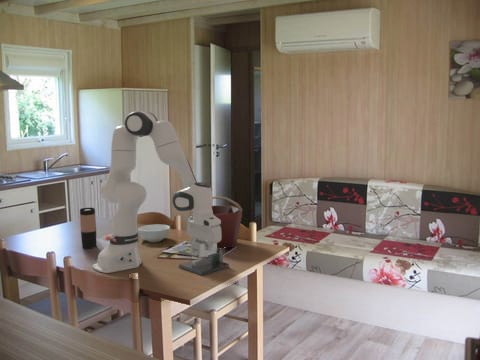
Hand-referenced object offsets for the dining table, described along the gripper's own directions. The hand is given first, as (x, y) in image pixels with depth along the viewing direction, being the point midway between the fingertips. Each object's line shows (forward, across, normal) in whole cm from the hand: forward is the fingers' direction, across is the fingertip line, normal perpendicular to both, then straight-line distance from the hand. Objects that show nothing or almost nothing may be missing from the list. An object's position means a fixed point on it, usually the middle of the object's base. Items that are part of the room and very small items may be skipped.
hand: (203, 248), depth 243 cm
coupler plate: (+9, 0, 0) cm, 9 cm away
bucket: (+9, -22, +31) cm, 39 cm away
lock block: (+2, 0, 0) cm, 2 cm away
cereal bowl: (+9, -55, +12) cm, 57 cm away
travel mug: (+9, -69, -19) cm, 72 cm away
